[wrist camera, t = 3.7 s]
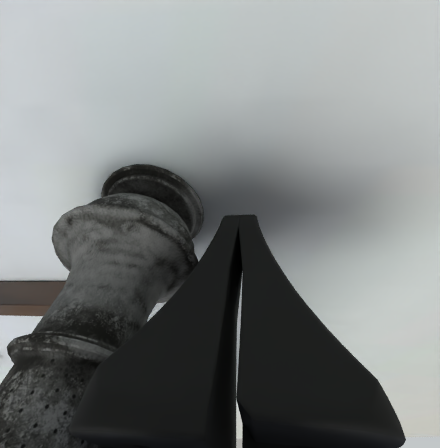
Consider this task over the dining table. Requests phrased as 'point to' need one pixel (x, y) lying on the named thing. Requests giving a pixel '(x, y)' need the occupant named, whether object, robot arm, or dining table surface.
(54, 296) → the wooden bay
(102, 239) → the salt shaker
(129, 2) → the dining table surface
